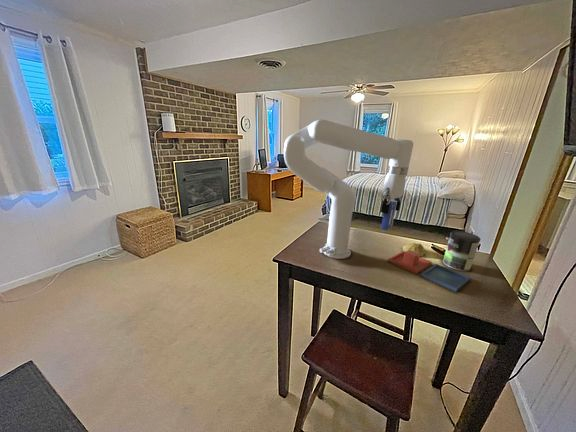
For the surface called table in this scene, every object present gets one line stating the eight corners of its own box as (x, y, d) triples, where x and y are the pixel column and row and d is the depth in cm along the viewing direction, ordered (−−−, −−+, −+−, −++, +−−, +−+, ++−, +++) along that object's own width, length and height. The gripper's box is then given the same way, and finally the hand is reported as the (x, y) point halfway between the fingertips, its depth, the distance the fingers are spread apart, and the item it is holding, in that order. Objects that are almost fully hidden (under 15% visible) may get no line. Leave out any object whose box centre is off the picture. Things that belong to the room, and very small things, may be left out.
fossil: (406, 234, 119) (429, 239, 114) (404, 243, 122) (426, 249, 117) (401, 247, 111) (426, 253, 106) (399, 257, 114) (423, 263, 109)
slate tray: (455, 293, 85) (457, 289, 85) (420, 276, 94) (421, 273, 94) (469, 280, 93) (470, 277, 92) (435, 267, 102) (436, 263, 101)
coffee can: (450, 271, 99) (460, 239, 95) (437, 258, 109) (445, 229, 105) (476, 272, 99) (487, 241, 94) (461, 260, 109) (469, 231, 104)
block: (412, 266, 101) (414, 256, 99) (402, 261, 104) (404, 252, 103) (417, 263, 103) (420, 253, 102) (407, 258, 107) (409, 249, 105)
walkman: (387, 230, 103) (392, 203, 100) (380, 228, 105) (385, 202, 101) (392, 226, 109) (397, 200, 106) (386, 224, 111) (391, 199, 107)
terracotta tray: (416, 274, 96) (416, 271, 95) (387, 261, 105) (388, 258, 104) (430, 265, 103) (431, 261, 103) (403, 253, 112) (404, 250, 112)
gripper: (399, 168, 107) (392, 206, 113) (377, 170, 97) (370, 212, 102) (416, 171, 102) (408, 210, 107) (395, 173, 91) (386, 217, 97)
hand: (389, 211), depth 105 cm, fingers closed on walkman, 8 cm apart
